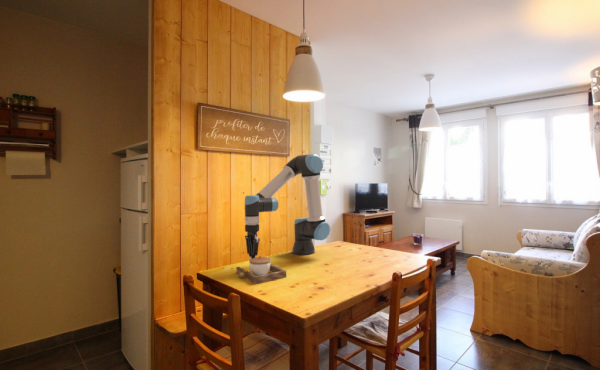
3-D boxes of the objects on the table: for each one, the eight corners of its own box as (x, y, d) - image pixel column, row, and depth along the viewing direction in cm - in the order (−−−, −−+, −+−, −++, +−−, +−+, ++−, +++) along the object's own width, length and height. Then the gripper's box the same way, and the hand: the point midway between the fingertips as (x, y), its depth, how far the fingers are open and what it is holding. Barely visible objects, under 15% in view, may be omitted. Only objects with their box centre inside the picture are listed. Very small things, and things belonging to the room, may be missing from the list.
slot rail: (268, 266, 168) (268, 260, 168) (290, 275, 151) (290, 269, 150) (231, 273, 155) (231, 267, 155) (250, 285, 138) (250, 278, 138)
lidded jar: (267, 278, 147) (267, 259, 147) (246, 277, 149) (246, 258, 149) (272, 271, 158) (272, 254, 157) (253, 271, 159) (253, 253, 159)
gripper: (240, 223, 162) (240, 266, 163) (251, 226, 152) (251, 272, 152) (252, 222, 167) (253, 264, 167) (264, 224, 156) (264, 269, 157)
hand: (252, 267), depth 160 cm, fingers closed
